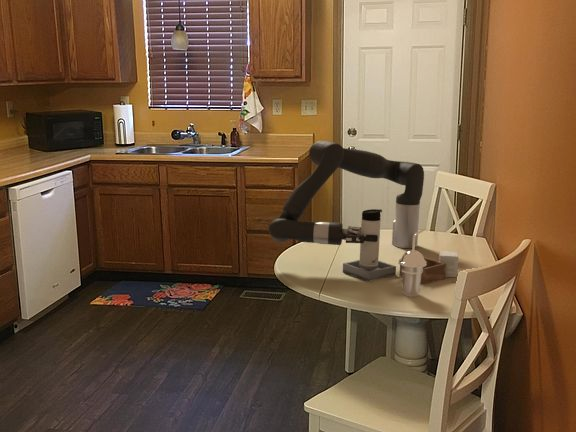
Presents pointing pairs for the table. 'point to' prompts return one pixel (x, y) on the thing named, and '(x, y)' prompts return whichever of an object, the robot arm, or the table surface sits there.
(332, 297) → the table surface
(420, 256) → the cup with straw
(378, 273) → the slate tray
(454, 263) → the product box
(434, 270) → the walnut holder
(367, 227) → the travel mug
